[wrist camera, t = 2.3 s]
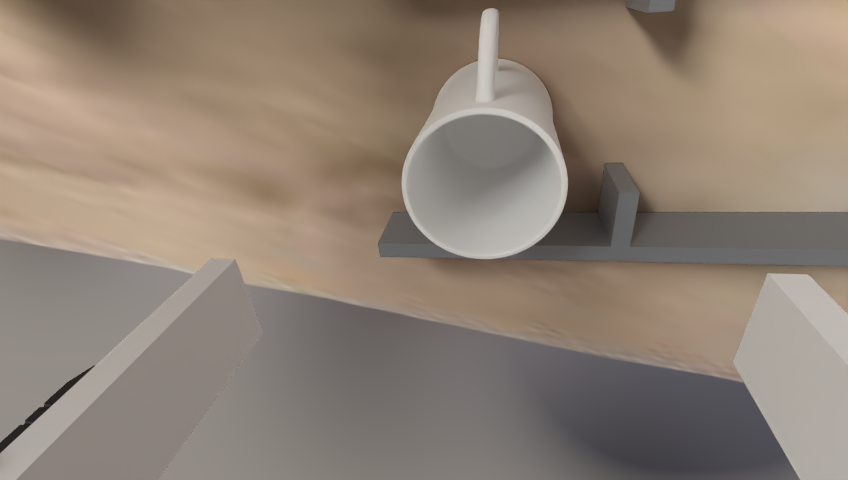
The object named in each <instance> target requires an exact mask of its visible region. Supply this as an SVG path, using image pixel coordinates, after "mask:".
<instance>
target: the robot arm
mask: <svg viewBox="0 0 848 480" xmlns="http://www.w3.org/2000/svg"><path fill="white" fill-rule="evenodd" d="M262 333H263V332H262V329H261V326H260V324H259V321H258V318H257V316H256V313H255V310H254V308H253V305H252V302H251V300H250V297H249V294H248V292H247V289H246V286H245V283H244V281H243V278H242V275H241V273H240V270H239V268H238V265H237V262H236V260H235V259H211V260H209V261H208V262H207V263H206V264H205V265H204V266H203V267H202V268H201V269H200V270H199V271H198V272H196V273H195V274H194V275H193V276H192V277H191V278H190V279H189V280H188V281H187V282H186V283H185V284H183V285H182V286H181V287H180V288H179V289H178V290H177V291H176V292H175V293H174V294H173V295H172V296H170V297H169V298H168V299H167V300H166V301H165V302H164V303H163V304H162V305H161V306H160V307H158V308H157V309H156V310H155V311H154V312H153V313H152V314H151V315H150V316H149V317H148V318H146V319H145V320H144V321H143V322H142V323H141V324H140V325H139V326H138V327H137V328H136V329H135V330H133V331H132V332H131V333H130V334H129V335H128V336H127V337H126V338H125V339H124V340H123V341H122V342H120V343H119V344H118V345H117V346H116V347H115V348H114V349H113V350H112V351H111V352H110V353H109V354H108V355H106V356H105V357H104V358H103V359H102V360H101V361H100V362H99V363H98V364H97V365H95V366H93V367H91V368H89V369H88V370H86V371H85V372H83V373H81V374H80V375H78V376H77V377H75V378H74V379H72V380H70V381H69V382H67V383H66V384H65V385H64V386H63V387H62V388H61V389H59V390H58V391H57V392H56V393H55V394H54V395H53V396H52V397H51V398H49V399H48V400H47V401H46V402H45V403H44V404H45V405H44V407H40V408H38V409H37V410H36V411H35V412H34V413H33V414H32V415H31V416H29V417H28V418H27V419H26V420H25V421H26V422H25V424H24V425H20V426H18V427H17V428H16V429H15V430H14V431H13V432H12V433H11V434H10V435H8V437H6V438H5V439H4V440H3V441H2V442H1V443H0V480H159V478H160V477H161V475H162V474H163V473H164V471H165V470H166V468H167V467H168V465H169V464H170V463H171V461H172V460H173V459H174V457H175V456H176V454H177V453H178V452H179V450H180V449H181V447H182V446H183V444H184V443H185V442H186V440H187V439H188V437H189V436H190V434H191V433H192V432H193V430H194V429H195V428H196V426H197V425H198V423H199V422H200V420H201V419H202V418H203V416H204V415H205V414H206V412H207V411H208V409H209V408H210V407H211V405H212V403H213V402H214V401H215V399H216V398H217V397H218V395H219V393H220V392H221V391H222V390H223V388H224V387H225V385H226V384H227V383H228V381H229V380H230V378H231V377H232V375H233V374H234V373H235V371H236V370H237V368H238V367H239V366H240V364H241V363H242V361H243V360H244V359H245V357H246V356H247V354H248V353H249V351H250V350H251V348H252V347H253V346H254V345H255V343H256V342H257V340H258V339H259V338H260V336H261V335H262ZM733 364H734V366H735V367H736V369H737V371H738V373H739V374H740V376H741V378H742V380H743V381H744V383H745V385H746V387H747V388H748V390H749V392H750V393H751V395H752V397H753V399H754V400H755V402H756V404H757V406H758V407H759V409H760V411H761V413H762V414H763V416H764V418H765V419H766V421H767V423H768V425H769V426H770V428H771V430H772V432H773V433H774V435H775V437H776V439H777V440H778V442H779V444H780V446H781V447H782V449H783V451H784V452H785V454H786V456H787V458H788V459H789V461H790V463H791V465H792V466H793V468H794V470H795V472H796V473H797V475H798V477H799V479H800V480H848V314H847V313H846V312H845V311H844V310H843V309H842V308H841V307H840V306H839V305H838V304H837V303H836V302H835V301H834V300H833V299H832V298H831V297H830V296H829V295H828V294H827V293H826V292H825V291H824V290H823V289H822V288H821V287H820V286H819V285H818V284H817V283H816V282H815V281H814V280H813V279H812V278H811V277H810V276H809V275H808V274H771V273H768V274H767V276H766V279H765V282H764V284H763V287H762V289H761V292H760V294H759V297H758V299H757V302H756V304H755V307H754V310H753V312H752V315H751V317H750V320H749V322H748V325H747V327H746V330H745V333H744V335H743V338H742V340H741V343H740V345H739V348H738V350H737V353H736V355H735V358H734V361H733Z"/></svg>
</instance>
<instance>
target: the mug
mask: <svg viewBox="0 0 848 480" xmlns="http://www.w3.org/2000/svg"><path fill="white" fill-rule="evenodd" d="M498 41H499V12H498V10H497V9H494V8H489V9H486V10H484V11H483V13H482V17H481V25H480V36H479V51H478V61H476V62H473V63H470V64H468V65H466V66H464V67H463V68H461V69H460V70H458V71H457V72H456V73H454V74H453V75H452V76H451V77H450V78H449V79H448V80H447V81H446V83H445V84H444V85H443V87H442V88H441V90H440V92H439V94H438V96H437V98H436V101H435V104H434V108H433V111H432V112H431V114H430V116H429V118H428V119H427V121H426V123H425V124H424V126H423V128H422V129H421V131H420V133H419V135H418V136H417V138H416V140H415V141H414V143H413V145H412V147H411V148H410V150H409V152H408V155H407V157H406V160H405V163H404V167H403V172H402V194H403V199H404V203H405V206H406V208H407V211H408V213H409V215H410V217H411V219H412V220H413V222H414V223H415V225H416V226H417V228H418V229H419V230H420V231H421V232H422V233H423V234H424V235H425V236H426V237H427V238H428V239H429V240H431V241H432V242H433V243H435V244H436V245H438V246H439V247H441V248H443V249H445V250H447V251H449V252H451V253H454V254H457V255H460V256H464V257H468V258H475V259H496V258H502V257H507V256H510V255H514V254H517V253H519V252H521V251H524V250H526V249H527V248H529V247H531V246H533V245H534V244H536V243H537V242H538V241H540V240H541V239H542V238H543V237H544V236H545V235H546V234H547V233H548V232H549V231H550V230H551V229H552V228H553V226H554V225H555V223H556V222H557V220H558V219H559V217H560V215H561V213H562V210H563V208H564V205H565V202H566V197H567V191H568V176H567V169H566V165H565V161H564V157H563V154H562V151H561V147H560V144H559V140H558V137H557V134H556V130H555V127H554V123H553V109H552V103H551V99H550V96H549V94H548V92H547V90H546V88H545V86H544V84H543V83H542V82H541V80H540V79H539V78H538V77H537V76H536V75H535V74H534V73H533V72H532V71H531V70H529V69H528V68H526V67H525V66H523V65H521V64H519V63H516V62H513V61H510V60H506V59H498Z"/></svg>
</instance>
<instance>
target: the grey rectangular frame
mask: <svg viewBox="0 0 848 480" xmlns="http://www.w3.org/2000/svg"><path fill="white" fill-rule="evenodd" d="M675 2H676V0H627V1H626V7H627V8H631V9H634V10H638V11H642V12H646V13H654V12H666V11H674V8H675ZM639 195H640V192H639V190H638V188H637V187H636V185H635V183H634V182H633V180H632V178H631V177H630V175H629V173H628V172H627V170H626V168H625V167H624V165H623V163H605V164H604V172H603V179H602V187H601V194H600V201H599V209H598V212H562V213H561V215H560V217H559V219H558V220H557V222H556V223H555V225H554V226H553V228H552V229H551V230H550V231H549V232H548V233H547V234H546V235H545V236H544V237H543V238H542V239H541V240H540V241H538V242H537V243H536V244H534V245H533V246H531V247H529V248H527V249H526V250H524V251H521V252H519V253H517V254H514V255H510V256H507V257H502V258H496V259H517V260H566V261H615V262H664V263H712V264H761V265H810V266H848V212H636V211H637V206H638V201H639ZM378 247H379V253H380V257H420V258H468V257H464V256H460V255H457V254H454V253H451V252H449V251H447V250H445V249H443V248H441V247H439V246H438V245H436V244H435V243H433V242H432V241H431V240H429V239H428V238H427V237H426V236H425V235H424V234H423V233H422V232H421V231H420V230H419V229H418V228H417V226H416V225H415V223H414V222H413V220H412V219H411V217H410V215H409V213H408V212H393V214H392V216H391V218H390V220H389V222H388V224H387V226H386V228H385V230H384V232H383V234H382V236H381V238H380V240H379V242H378ZM469 259H475V258H469Z"/></svg>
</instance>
